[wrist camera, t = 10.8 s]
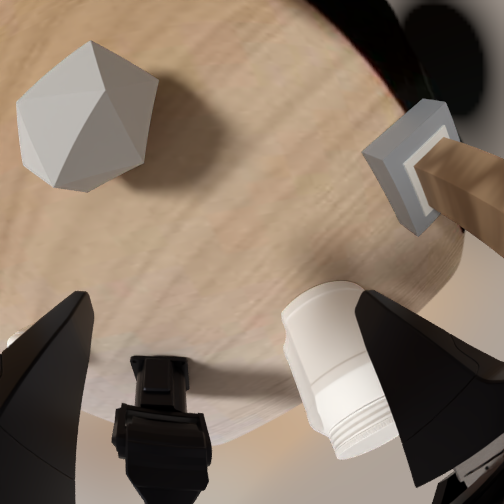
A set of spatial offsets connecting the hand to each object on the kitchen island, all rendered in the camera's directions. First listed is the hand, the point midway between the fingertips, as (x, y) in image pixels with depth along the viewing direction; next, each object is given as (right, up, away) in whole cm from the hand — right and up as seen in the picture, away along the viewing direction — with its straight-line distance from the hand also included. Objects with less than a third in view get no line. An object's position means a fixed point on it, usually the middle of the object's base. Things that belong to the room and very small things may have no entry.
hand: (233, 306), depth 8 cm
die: (-10, +11, +7) cm, 16 cm away
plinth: (+16, +10, +13) cm, 23 cm away
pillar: (+16, +8, +10) cm, 21 cm away
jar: (+8, -6, +21) cm, 23 cm away
